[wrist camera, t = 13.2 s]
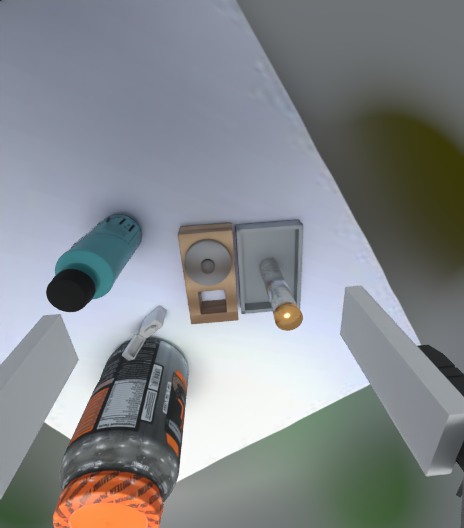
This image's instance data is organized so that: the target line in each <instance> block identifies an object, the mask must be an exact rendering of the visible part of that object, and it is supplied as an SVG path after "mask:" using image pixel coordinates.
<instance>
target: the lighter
mask: <svg viewBox="0 0 464 528" xmlns="http://www.w3.org/2000/svg"><path fill="white" fill-rule="evenodd" d="M165 315H166V310H165V309H164V308H163V307H162V306H158V307H157V308H156V309H155V310H153V311H152V312H151V313H150V314H148V315H147V316H146V317H145V318H144V321H143V323H142V326H141V329H140V332H139V334H136V335H134V336H133V338H132V339H131V341H130V343H129V344H128V346H127V347H126V349H125V350H124V352H123V353H122V356H123V357H124V358H126V359H127V360H129V361H130V360H133V359H135V357H136V355H137V354H138V352H139V350H140V349H141V347H142V345H143V344H144V342H145V340H146V338H149V337H150V336H151V335H152V334H154V333H155V332H156V331H157V330H158V329H159V328H161V327H162V326H163V322H164V318H165Z"/></svg>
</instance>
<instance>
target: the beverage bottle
mask: <svg viewBox="0 0 464 528" xmlns="http://www.w3.org/2000/svg"><path fill="white" fill-rule="evenodd" d="M98 224H99V225H98ZM98 224H97V225H98V226H97V227H95V228H93V230H92V231H91V232H89V233H88V234H86V235H85V237H84V236H83V237H84V238H82V239H81V238H80V239H81V240H80V239H79V240H80V241H79V242H77V243H76V244H75V243H74V246H73V247H71V249H70V250H69V251H66V253H64V254H63V255H62V256H61V257H60V258H59V259H58V261H57V263H56V267H55V274H56V276H55V277H54V278H53V280H52V281H51V282H50V283H49V285H48V287H47V291H46V294H47V298H48V300H49V302H50V303H51V304H52V305H53V306H54V307H56V308H57V309H59V310H61V311H65V312H76V311H79V310H81V309H82V308H84V307H85V306H86V304H87V303H89V302H90V301H91V300H92V299H97V298H100V297H102V296H104V295H105V294H107V293H108V292H109V291H110V289H111V288H112V286H113V283H114V282H115V280H116V279H117V277H118V276H119V274H120V273H121V271H122V269H123V268H124V266H125V265H126V263H127V262H128V261H129V259H131V256H133V253H134V252H135V250H136V249H137V247H138V246H139V244H140V241H141V240H142V239H141V236H142V235H141V232H140V228H139V227H138V225H137V224H136V223H135V221H133V220H132V219H131V218H129V217H127V216H124V215H114V216H113V215H112V216H110V217H108V218H106V219H105V220H104V221H103V222H101V223H98Z"/></svg>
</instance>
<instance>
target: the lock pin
mask: <svg viewBox="0 0 464 528" xmlns="http://www.w3.org/2000/svg"><path fill="white" fill-rule="evenodd" d="M259 270H260V273H261V276H262V279H263V282H264V285H265V289H266V292H267V295H268V298H269V301H270V304H271V307H272V310H273V314H274V319H275V323H276V325H277V326H278V327H279V328H280V329H282V330H287V331H288V330H293V329H295V328H297V327H298V326H299V325H300V324H301V323H302V320H303V315H302V313H301V311H300V309H299V307H298V306H297V304H296V302H295V300H294V298H293V296H292V293H291V291H290V289H289V287H288V285H287V283H286V281H285V278H284V276H283V274H282V272H281V270H280V268H279V266H278V264H277V262H276V260H274V259H273V258H265V259H263V260H262V261H261V262H260V264H259Z"/></svg>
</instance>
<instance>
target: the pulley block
mask: <svg viewBox="0 0 464 528" xmlns="http://www.w3.org/2000/svg"><path fill="white" fill-rule="evenodd" d="M178 239H179V246H180V253H181V259H182V266H183V273H184V279H185V286H186V292H187V299H188V306H189V312H190V319H191V324H200V323H211V322H223V321H234V320H238V308H237V293H236V279H235V264H234V249H233V235H232V227H231V223H220V224H207V225H195V226H182V227H180V230H179V233H178ZM224 289H225V295H226V300H216V301H204V302H202V300H201V292H200V291H212V290H224Z"/></svg>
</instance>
